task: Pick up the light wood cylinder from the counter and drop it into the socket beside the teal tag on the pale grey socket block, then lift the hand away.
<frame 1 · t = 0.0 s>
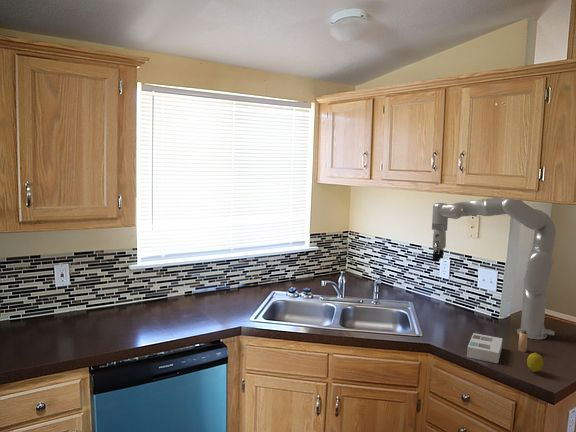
hand: (437, 259, 235), 31 cm above the table, tool pointing down, fingers open, 9 cm apart
lemon: (534, 372, 178), on the table
socket block: (484, 352, 196), on the table
light wood cylinder: (522, 350, 199), on the table
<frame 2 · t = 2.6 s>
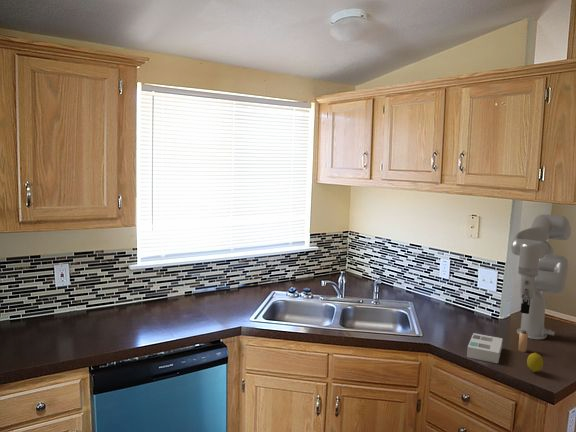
hand: (525, 310, 197), 18 cm above the table, tool pointing down, fingers open, 9 cm apart
nothing on the table moved.
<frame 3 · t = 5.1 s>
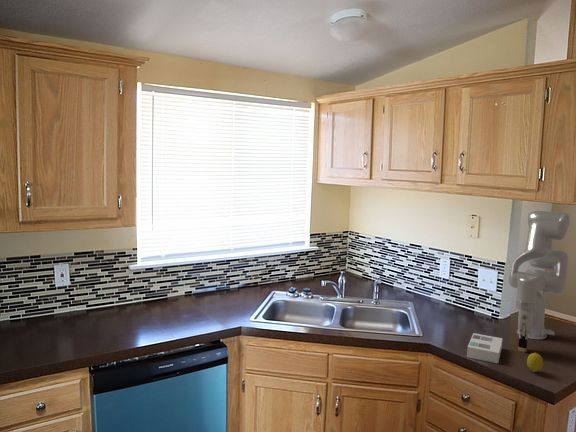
hand: (522, 345, 199), 2 cm above the table, tool pointing down, fingers closed on light wood cylinder, 3 cm apart
light wood cylinder: (522, 350, 199), on the table, touching gripper
everything else where it was.
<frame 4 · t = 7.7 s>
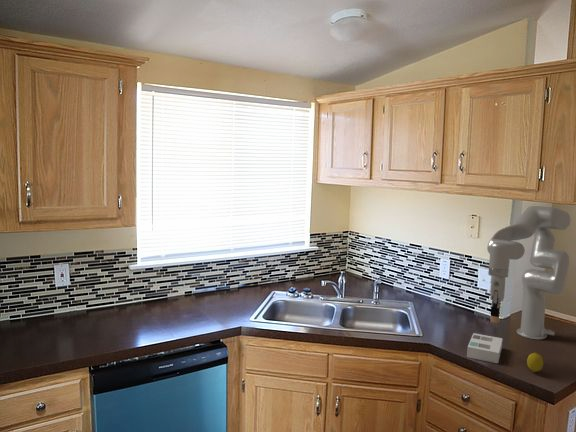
hand: (494, 314, 191), 18 cm above the table, tool pointing down, fingers closed on light wood cylinder, 3 cm apart
light wood cylinder: (494, 322, 192), point 15 cm above the table, touching gripper
everything else where it was.
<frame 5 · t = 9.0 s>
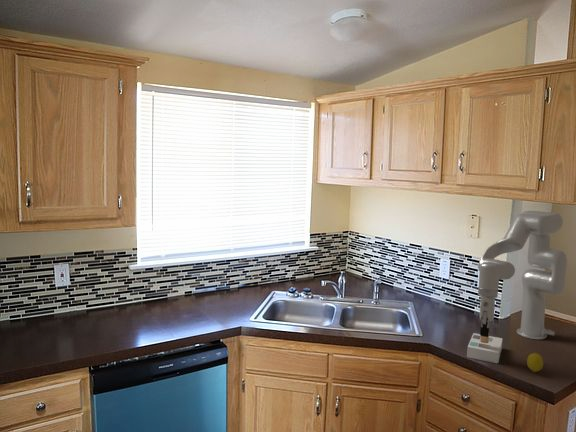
hand: (484, 334, 191), 10 cm above the table, tool pointing down, fingers closed on light wood cylinder, 3 cm apart
light wood cylinder: (484, 341, 191), point 6 cm above the table, touching gripper
everything else where it was.
when the fingers open (6 cm above the table, at t = 10.1 s): light wood cylinder drops 3 cm, resting in socket block.
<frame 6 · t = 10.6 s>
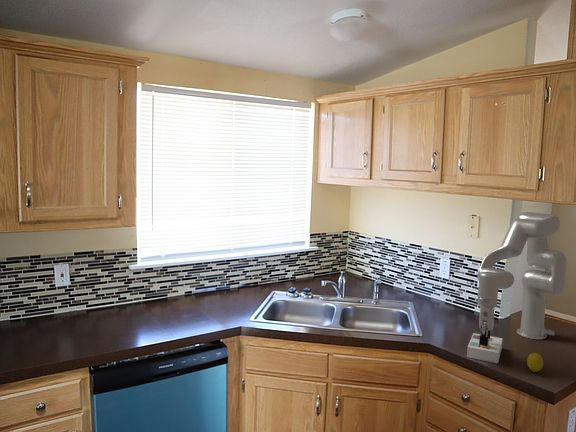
hand: (484, 341, 191), 7 cm above the table, tool pointing down, fingers open, 8 cm apart
light wood cylinder: (483, 356, 192), resting in socket block
everything else where it was.
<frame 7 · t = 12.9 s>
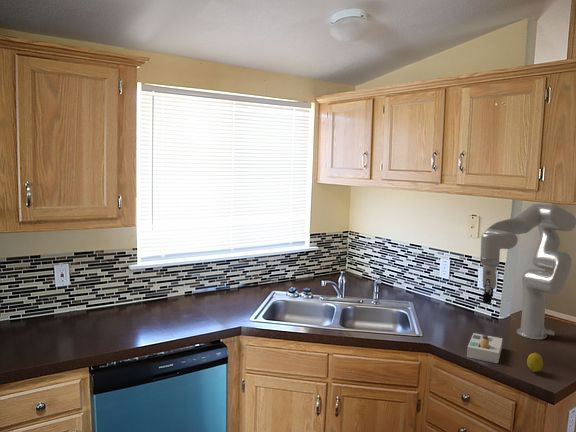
hand: (488, 299, 198), 22 cm above the table, tool pointing down, fingers open, 9 cm apart
nothing on the table moved.
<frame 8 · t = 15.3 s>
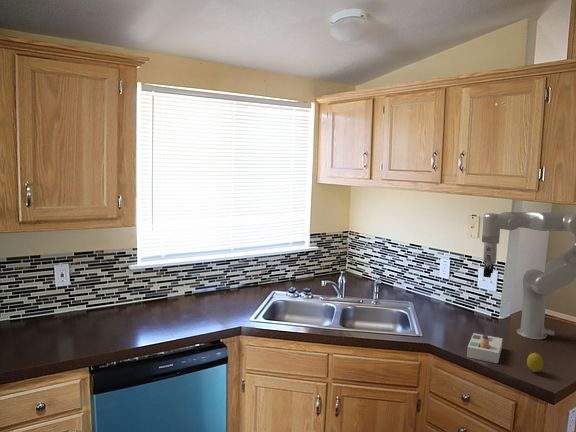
hand: (488, 274, 217), 28 cm above the table, tool pointing down, fingers open, 9 cm apart
nothing on the table moved.
at the end: light wood cylinder 0.1 cm from the target spot on the socket block, point 0.0 cm above the socket block's base; light wood cylinder tilted 0°; the gripper is holding nothing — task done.
